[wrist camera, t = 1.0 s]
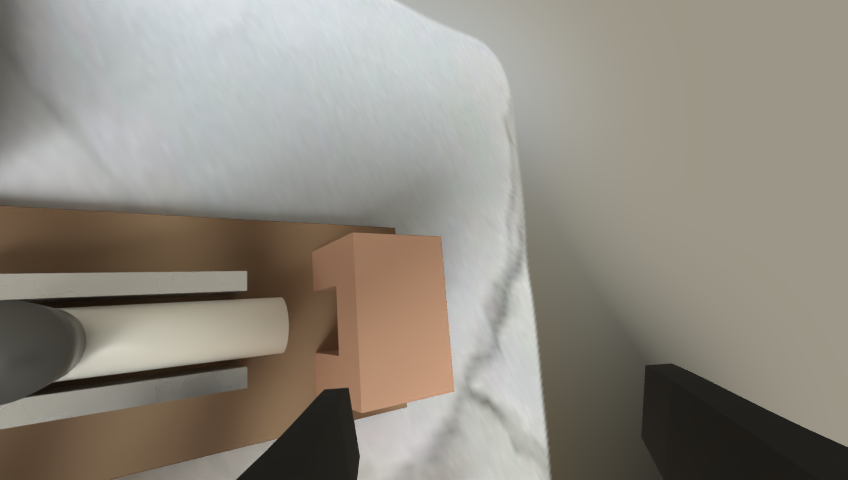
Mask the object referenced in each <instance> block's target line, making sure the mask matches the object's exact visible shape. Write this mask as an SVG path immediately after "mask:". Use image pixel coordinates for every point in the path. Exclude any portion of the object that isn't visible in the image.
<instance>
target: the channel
mask: <svg viewBox="0 0 848 480" xmlns="http://www.w3.org/2000/svg"><path fill="white" fill-rule="evenodd" d="M245 291H247V271H204V272H117V273H31V274H0V300H17V301H25V302H29V303H47V302H70V301H94V300H118V299H142V298H165V297H189V296H213V295H236V294H240V293H242V292H245ZM245 388H247V367H246V366H244V365H241V364H238V363H234V364H227V365H219V366H212V367H204V368H197V369H189V370H181V371H174V372H166V373H159V374H151V375H144V376H136V377H128V378H121V379H113V380H106V381H98V382H91V383H83V384H75V385H68V386H60V387H53V388H45V389H40V390H38V391H36V392H34V393H32V394H30V395H28V396H26V397H24V398H22V399H20V400H17V401H14V402H11V403H8V404H4V405H0V429H5V428H11V427H17V426H23V425H29V424H35V423H41V422H47V421H53V420H59V419H65V418H71V417H77V416H83V415H89V414H95V413H101V412H107V411H113V410H119V409H125V408H131V407H137V406H143V405H149V404H155V403H161V402H167V401H173V400H179V399H185V398H191V397H197V396H203V395H209V394H215V393H221V392H227V391H233V390H239V389H245Z"/></svg>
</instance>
